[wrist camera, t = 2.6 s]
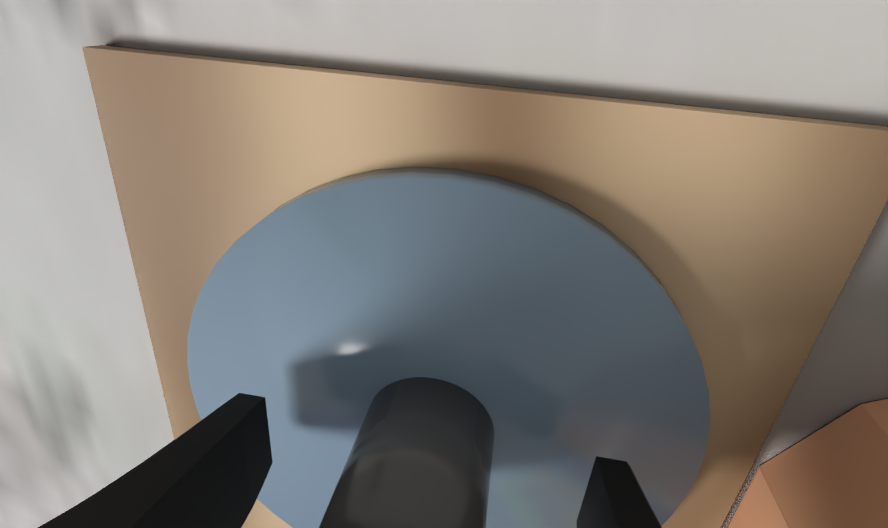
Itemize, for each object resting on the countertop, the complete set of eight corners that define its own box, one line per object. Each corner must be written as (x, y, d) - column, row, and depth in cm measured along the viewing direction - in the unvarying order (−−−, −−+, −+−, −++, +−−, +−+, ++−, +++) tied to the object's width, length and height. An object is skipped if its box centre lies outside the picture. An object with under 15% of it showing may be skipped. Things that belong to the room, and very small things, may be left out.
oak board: (206, 524, 17) (197, 537, 17) (101, 45, 10) (82, 47, 10) (661, 619, 16) (665, 637, 15) (901, 127, 9) (921, 134, 8)
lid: (236, 516, 16) (143, 675, 12) (165, 134, 10) (-47, 209, 7) (627, 595, 15) (658, 801, 11) (787, 206, 9) (967, 351, 5)
